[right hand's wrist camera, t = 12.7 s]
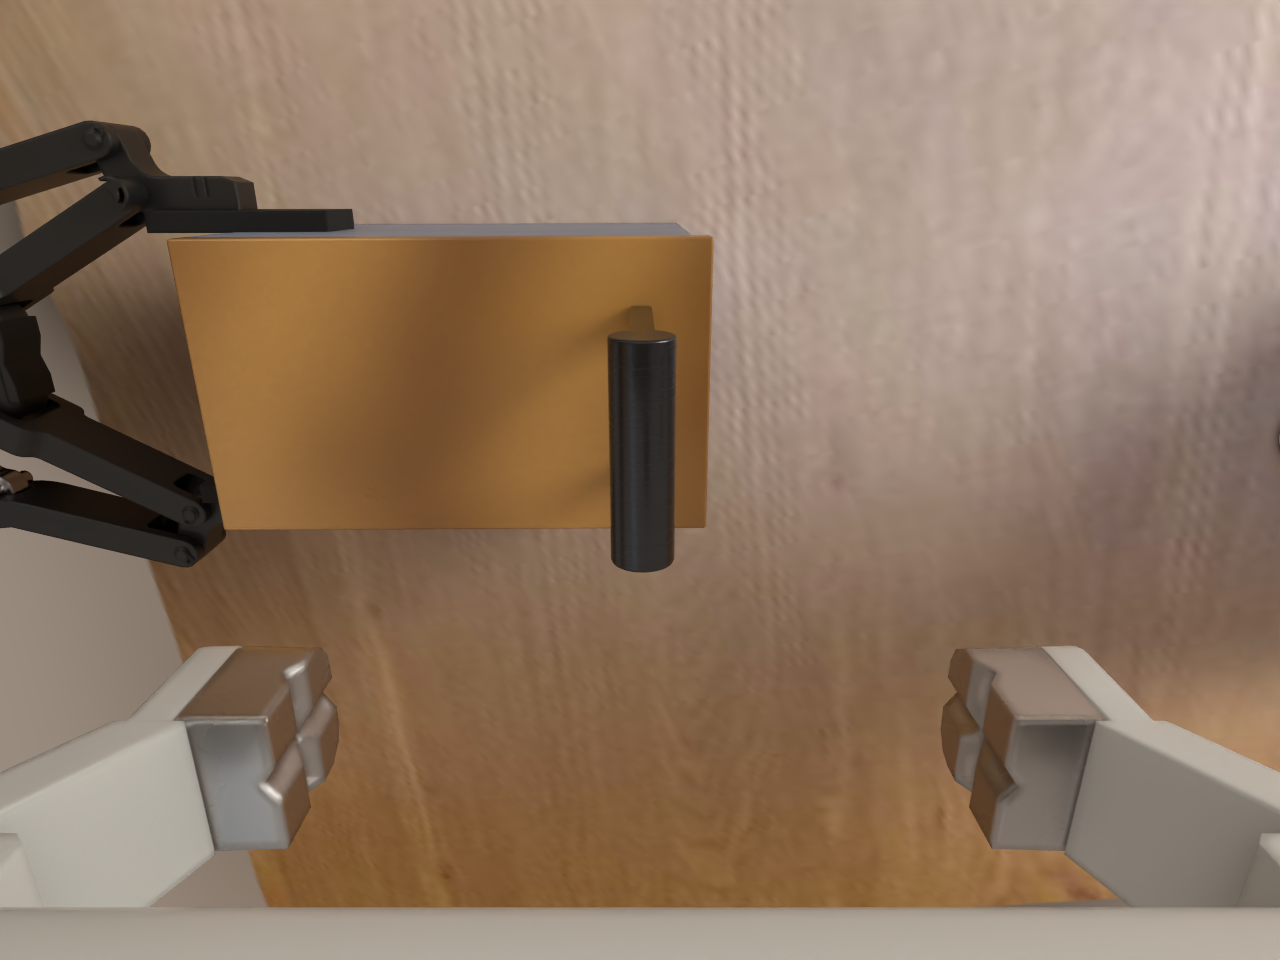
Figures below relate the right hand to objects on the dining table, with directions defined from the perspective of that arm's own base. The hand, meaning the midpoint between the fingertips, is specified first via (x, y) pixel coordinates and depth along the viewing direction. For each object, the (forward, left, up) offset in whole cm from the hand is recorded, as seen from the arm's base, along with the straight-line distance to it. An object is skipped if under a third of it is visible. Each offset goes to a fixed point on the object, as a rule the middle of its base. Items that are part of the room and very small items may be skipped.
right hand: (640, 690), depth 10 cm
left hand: (+6, +9, -22) cm, 25 cm away
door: (+3, +5, -18) cm, 19 cm away
